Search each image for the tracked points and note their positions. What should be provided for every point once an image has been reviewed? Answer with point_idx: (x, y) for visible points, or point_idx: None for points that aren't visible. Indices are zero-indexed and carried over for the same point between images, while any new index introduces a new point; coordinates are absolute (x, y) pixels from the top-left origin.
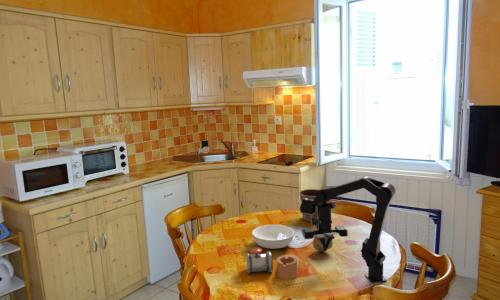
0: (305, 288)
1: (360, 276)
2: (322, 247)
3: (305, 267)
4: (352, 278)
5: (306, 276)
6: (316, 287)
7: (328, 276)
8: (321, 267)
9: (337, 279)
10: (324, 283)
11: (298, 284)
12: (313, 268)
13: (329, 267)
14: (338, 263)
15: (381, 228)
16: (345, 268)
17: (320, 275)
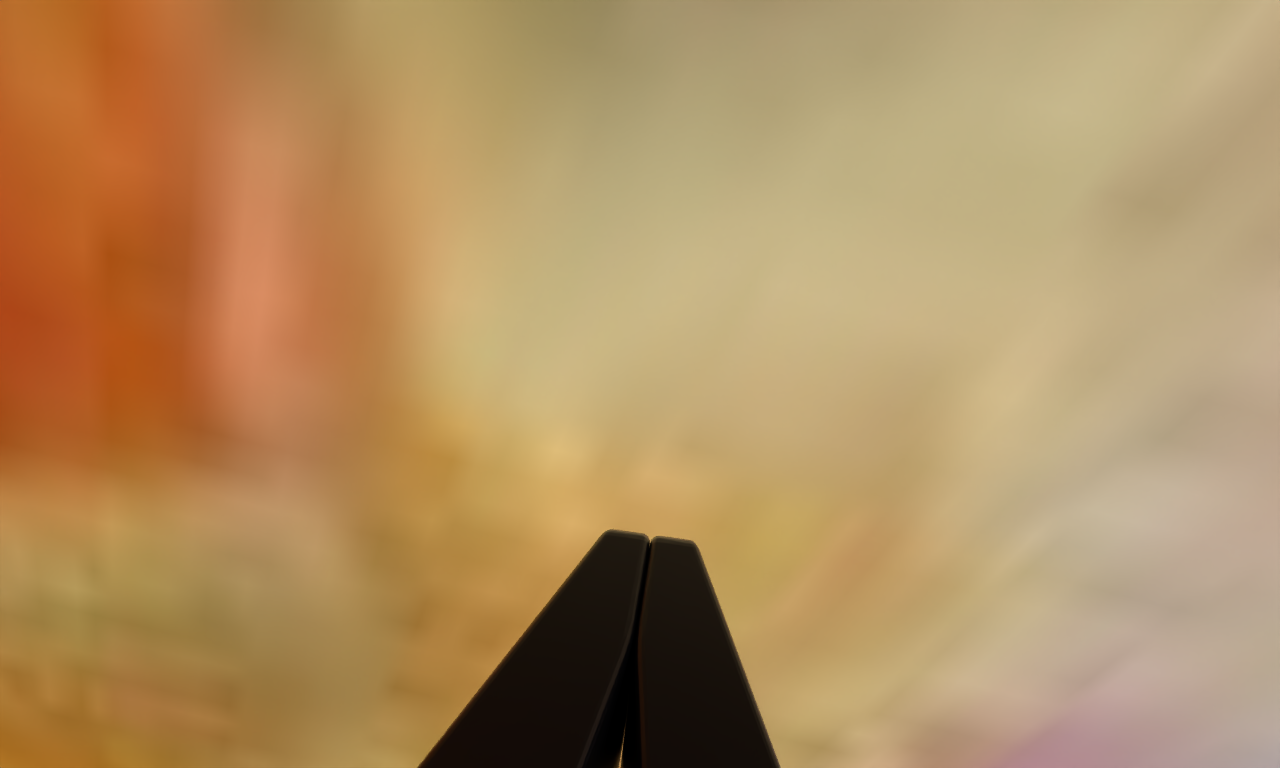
0: (131, 740)
1: (1218, 757)
2: (530, 648)
3: (139, 135)
4: (1017, 759)
5: (155, 493)
6: (302, 764)
7: None
8: (585, 255)
9: None
10: None
11: (13, 643)
12: (355, 244)
13: (800, 312)
14: (1206, 178)
15: None
16: (1176, 461)
17: (452, 537)
